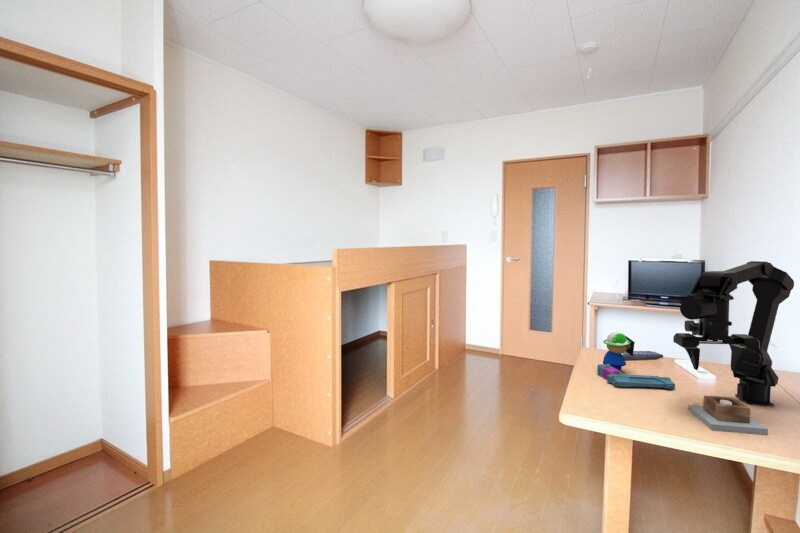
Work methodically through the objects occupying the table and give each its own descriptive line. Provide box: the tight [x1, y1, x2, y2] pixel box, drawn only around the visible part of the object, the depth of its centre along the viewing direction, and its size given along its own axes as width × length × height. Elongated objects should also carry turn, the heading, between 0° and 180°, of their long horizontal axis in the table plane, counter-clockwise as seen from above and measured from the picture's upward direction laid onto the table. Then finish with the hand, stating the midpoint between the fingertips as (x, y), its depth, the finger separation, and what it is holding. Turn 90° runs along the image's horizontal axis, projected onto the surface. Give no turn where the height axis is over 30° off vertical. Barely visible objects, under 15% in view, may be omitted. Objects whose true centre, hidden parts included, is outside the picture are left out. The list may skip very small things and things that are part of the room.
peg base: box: [687, 400, 769, 436], centre depth 101 cm, size 12×12×6 cm
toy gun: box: [596, 363, 676, 390], centre depth 131 cm, size 4×20×15 cm
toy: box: [602, 331, 636, 372], centre depth 141 cm, size 9×9×15 cm
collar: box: [702, 395, 751, 423], centre depth 101 cm, size 7×7×4 cm
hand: (714, 370), depth 108 cm, fingers open, 9 cm apart
